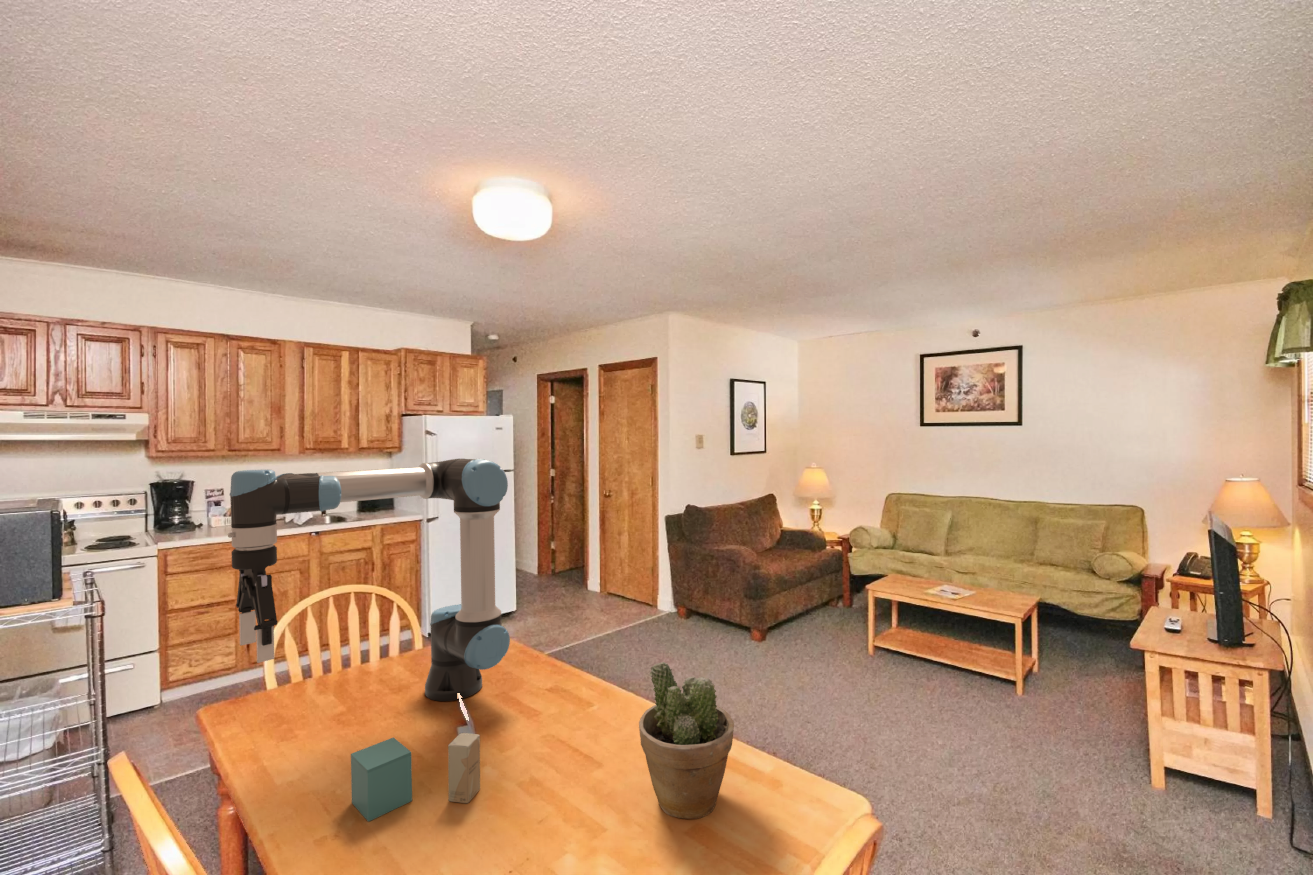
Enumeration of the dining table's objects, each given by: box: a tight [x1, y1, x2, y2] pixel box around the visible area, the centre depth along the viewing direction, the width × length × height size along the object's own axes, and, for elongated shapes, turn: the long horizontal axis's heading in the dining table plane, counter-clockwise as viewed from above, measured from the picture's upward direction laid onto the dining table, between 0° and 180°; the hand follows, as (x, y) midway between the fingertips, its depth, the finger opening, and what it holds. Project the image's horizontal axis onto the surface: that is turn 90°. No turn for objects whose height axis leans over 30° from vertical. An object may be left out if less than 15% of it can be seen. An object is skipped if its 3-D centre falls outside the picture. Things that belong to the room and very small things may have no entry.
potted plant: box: [638, 661, 735, 820], centre depth 113 cm, size 18×19×25 cm
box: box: [447, 732, 481, 804], centre depth 115 cm, size 5×4×11 cm
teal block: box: [350, 737, 413, 823], centre depth 113 cm, size 8×8×10 cm
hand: (256, 651), depth 117 cm, fingers open, 13 cm apart
